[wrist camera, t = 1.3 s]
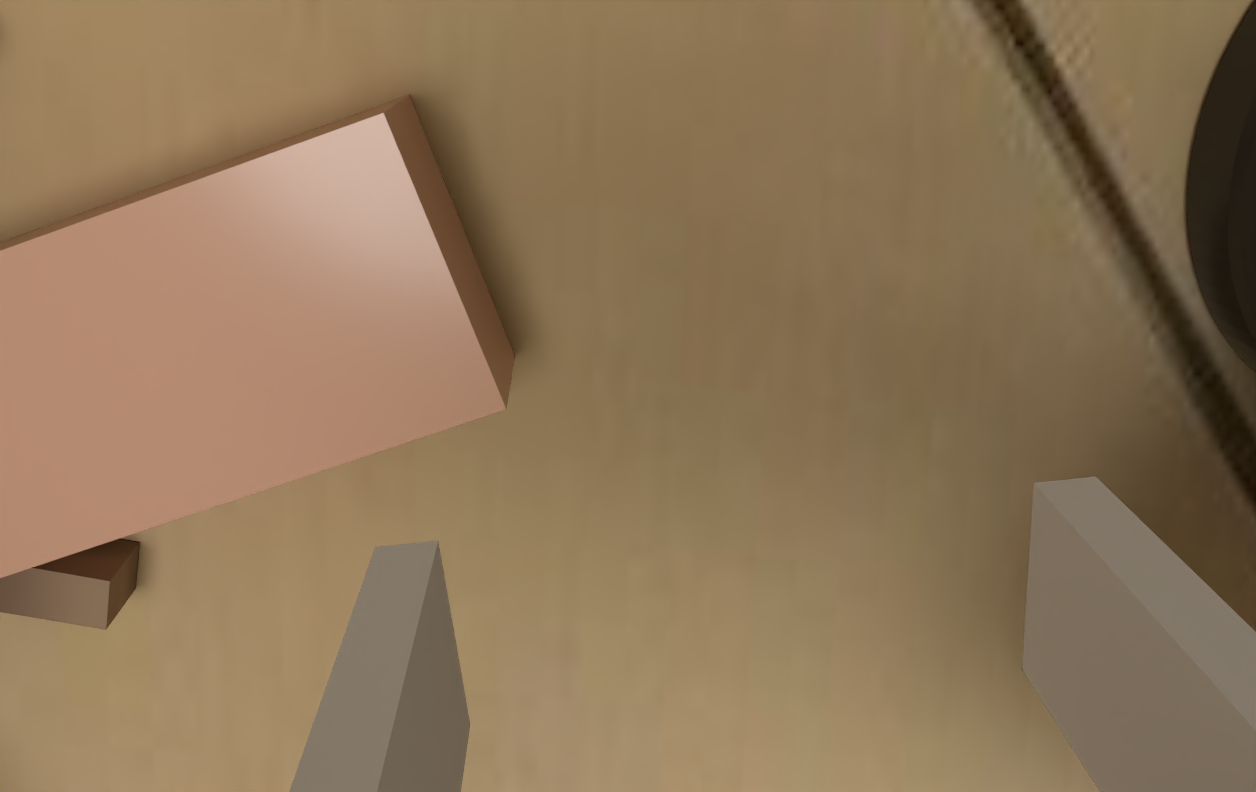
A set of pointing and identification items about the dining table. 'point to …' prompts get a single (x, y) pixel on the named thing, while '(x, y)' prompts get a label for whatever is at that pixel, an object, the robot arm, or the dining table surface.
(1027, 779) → the dining table surface
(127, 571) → the shelf
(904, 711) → the dining table surface
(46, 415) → the pink foam brick
